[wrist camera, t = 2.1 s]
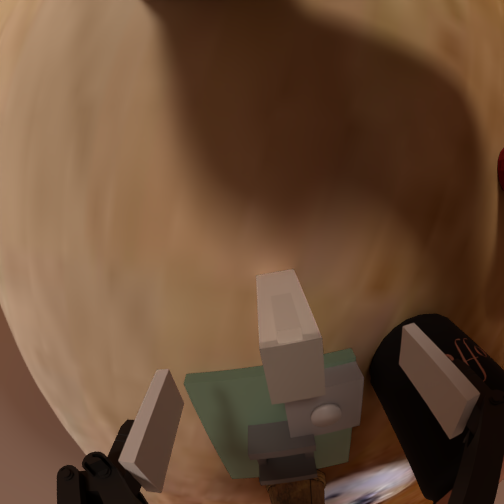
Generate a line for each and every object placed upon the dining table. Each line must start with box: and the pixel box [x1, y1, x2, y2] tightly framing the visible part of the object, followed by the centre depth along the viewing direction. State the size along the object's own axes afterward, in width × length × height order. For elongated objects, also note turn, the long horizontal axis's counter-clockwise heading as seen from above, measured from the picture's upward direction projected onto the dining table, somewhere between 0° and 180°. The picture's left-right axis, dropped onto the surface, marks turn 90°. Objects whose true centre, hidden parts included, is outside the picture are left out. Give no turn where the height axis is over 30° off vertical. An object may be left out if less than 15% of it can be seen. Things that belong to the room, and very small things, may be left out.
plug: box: [256, 269, 326, 405], centre depth 18 cm, size 5×3×10 cm, turn 11°
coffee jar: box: [370, 314, 504, 504], centre depth 16 cm, size 11×11×18 cm
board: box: [184, 348, 364, 485], centre depth 25 cm, size 20×16×6 cm
